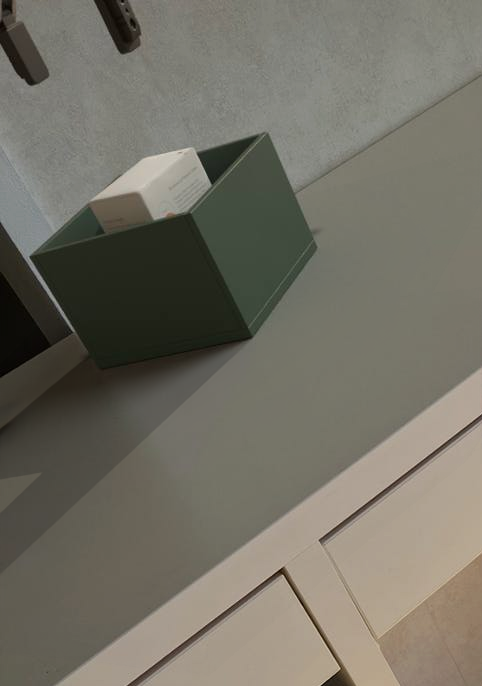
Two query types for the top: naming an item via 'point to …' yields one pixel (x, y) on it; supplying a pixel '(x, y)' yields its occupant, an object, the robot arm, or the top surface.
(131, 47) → the robot arm
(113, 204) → the small box
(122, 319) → the bin
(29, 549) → the top surface
